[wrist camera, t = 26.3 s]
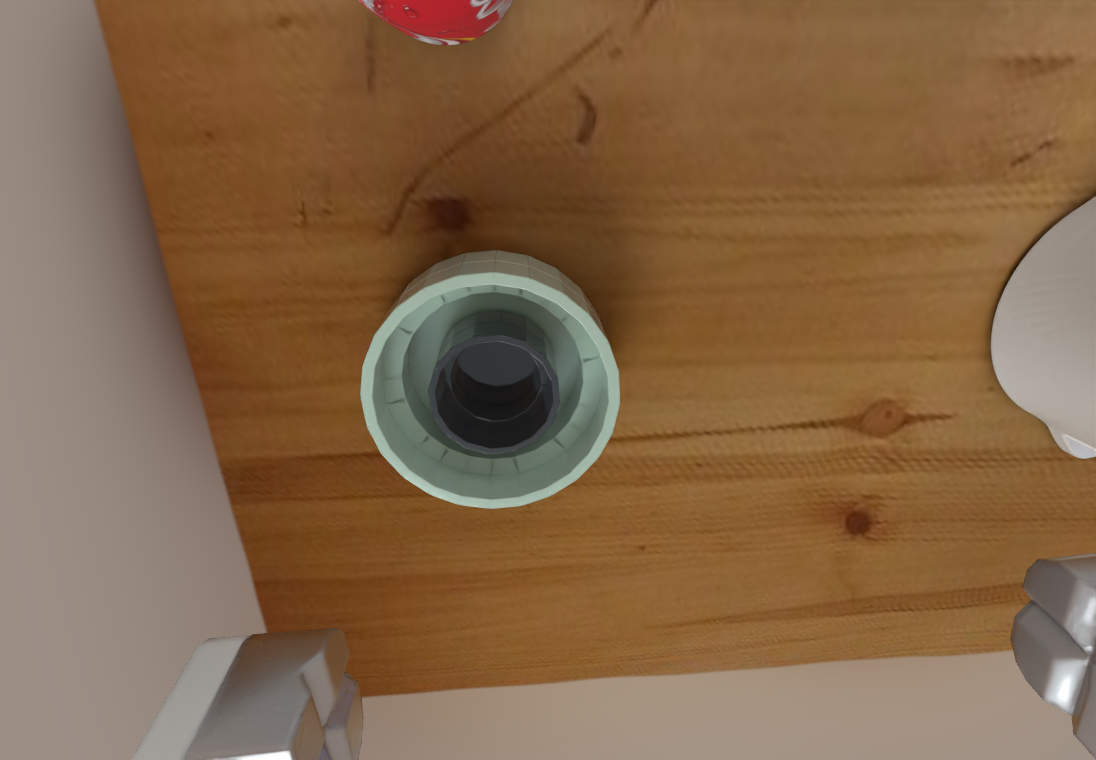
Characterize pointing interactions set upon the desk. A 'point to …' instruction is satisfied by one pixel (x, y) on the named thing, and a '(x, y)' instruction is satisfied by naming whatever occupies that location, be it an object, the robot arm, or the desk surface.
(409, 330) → the celadon bowl
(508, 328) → the charcoal cup
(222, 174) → the desk surface
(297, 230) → the desk surface
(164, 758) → the robot arm
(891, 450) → the desk surface
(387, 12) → the soda can
